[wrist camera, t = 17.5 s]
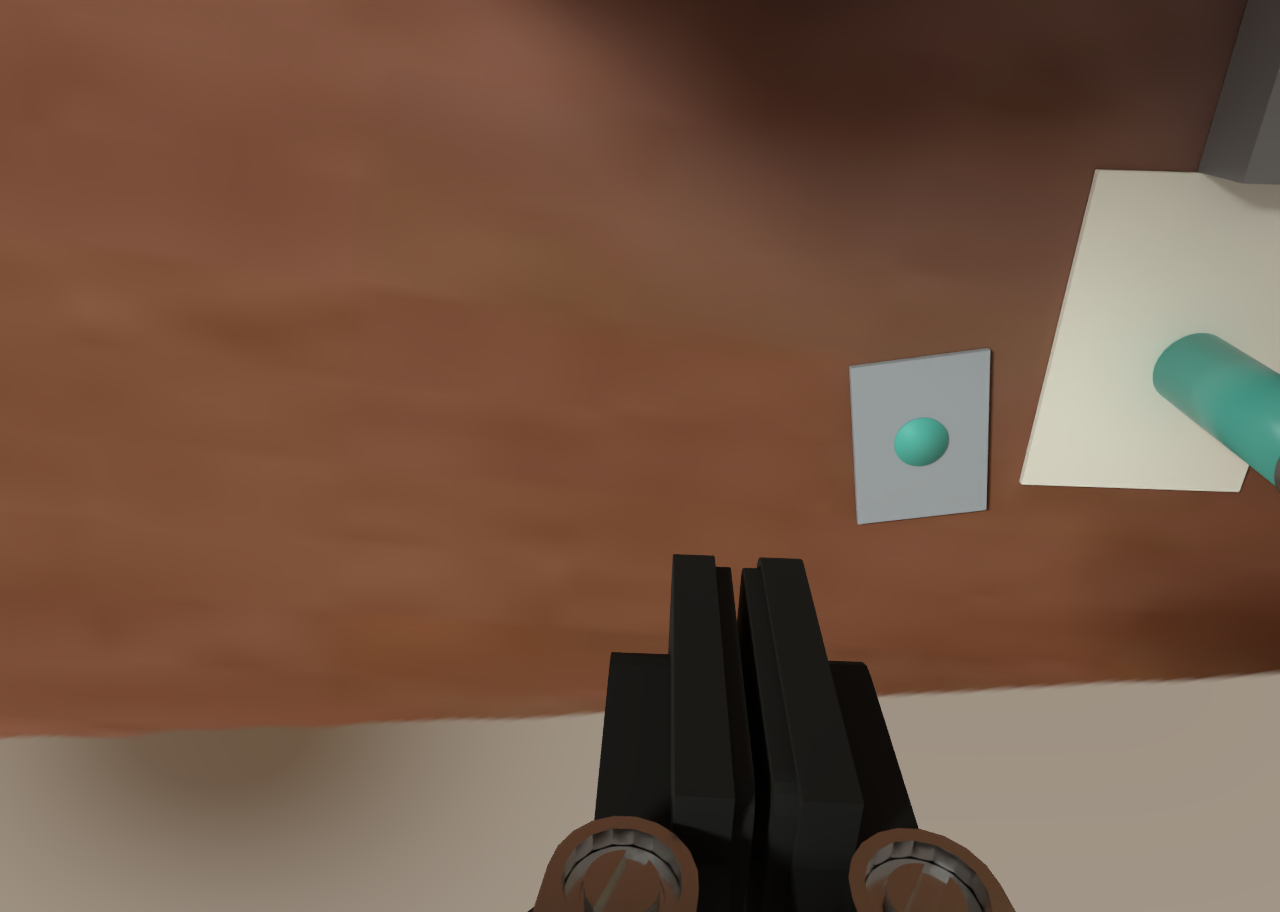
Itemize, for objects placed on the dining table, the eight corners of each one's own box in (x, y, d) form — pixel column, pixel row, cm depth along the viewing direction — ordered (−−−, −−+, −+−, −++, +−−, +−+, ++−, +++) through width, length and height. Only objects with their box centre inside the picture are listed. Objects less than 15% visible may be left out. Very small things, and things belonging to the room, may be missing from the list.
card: (849, 366, 38) (850, 369, 38) (987, 348, 37) (991, 350, 37) (856, 521, 41) (858, 525, 41) (984, 506, 41) (986, 510, 40)
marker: (1171, 325, 36) (1343, 436, 27) (1247, 336, 36) (1442, 450, 27) (1137, 397, 38) (1289, 524, 29) (1209, 408, 38) (1383, 537, 29)
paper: (1095, 169, 34) (1098, 170, 34) (1350, 176, 34) (1356, 177, 34) (1019, 481, 40) (1021, 484, 40) (1235, 489, 40) (1238, 492, 40)
